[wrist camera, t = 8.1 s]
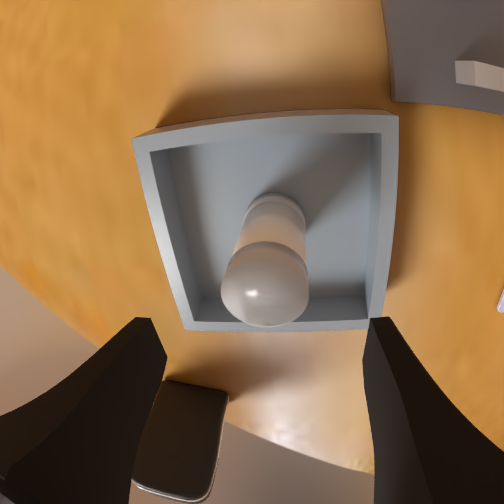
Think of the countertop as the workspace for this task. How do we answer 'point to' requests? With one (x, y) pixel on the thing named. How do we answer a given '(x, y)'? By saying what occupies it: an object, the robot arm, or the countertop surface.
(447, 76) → the plate
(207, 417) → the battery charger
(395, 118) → the parts tray
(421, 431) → the robot arm
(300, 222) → the cylinder
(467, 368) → the countertop surface
